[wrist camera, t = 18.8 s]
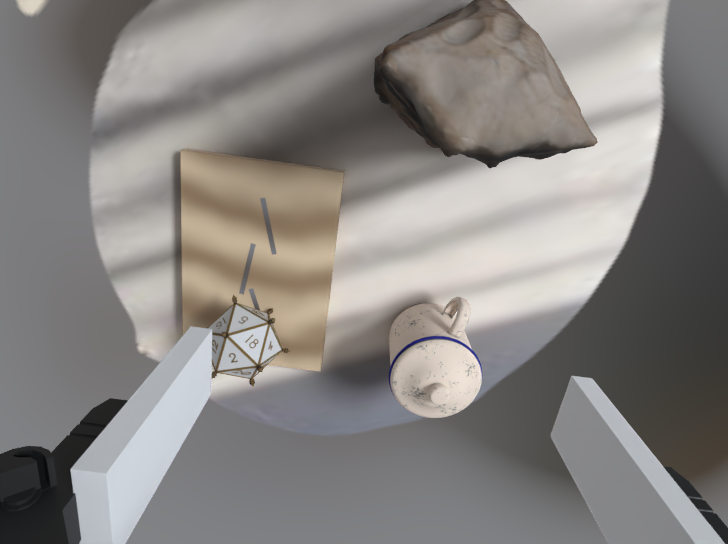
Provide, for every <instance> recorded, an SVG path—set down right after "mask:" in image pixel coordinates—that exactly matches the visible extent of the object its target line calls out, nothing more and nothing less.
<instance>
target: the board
mask: <svg viewBox="0 0 728 544" xmlns="http://www.w3.org/2000/svg"><path fill="white" fill-rule="evenodd" d="M180 151H181V241H182V331H183V335H184V334H185V333H186V331H187V330H188V329H189V328H190V327H191V326H192V327H200V328H207V327H208V326H209V325H211V324H212V323H213V322H214V321H215V320H216V319H217V318H218V317H219V316H221V315H222V314H223V313H224V312H225V311H226V310H227V309H228V308H229V307H230V306H232V305H233V304H234V303H233V302H232V297H233V295H234V296H235V297H236V298H237V303H239V304H242V305H245V306H248V307H251V308H254V309H257V310H260V311H263V312H266V313H267V312H268V310H269V309H272V308H273V313H271V314H270V318H275V323H273V325H274V328H275V330H276V333H277V335H278V338H279V341H280V343H281V346H282V348H288V350H289V351H290V352H288V353H287V354H286V353H284V352H281V353H279V354H278V355H277V356H276V357H275V358H274V359H273V360H272V361H271V362H270V363H269V364H268V365H274V366H281V367H289V368H297V369H305V370H313V371H321V366H322V358H323V350H324V341H325V333H326V324H327V316H328V307H329V299H330V290H331V282H332V273H333V265H334V256H335V248H336V239H337V231H338V222H339V214H340V205H341V197H342V188H343V180H344V171H343V170H336V169H329V168H321V167H314V166H307V165H300V164H293V163H286V162H279V161H272V160H264V159H257V158H250V157H243V156H236V155H229V154H222V153H215V152H207V151H200V150H193V149H182V150H180Z"/></svg>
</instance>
